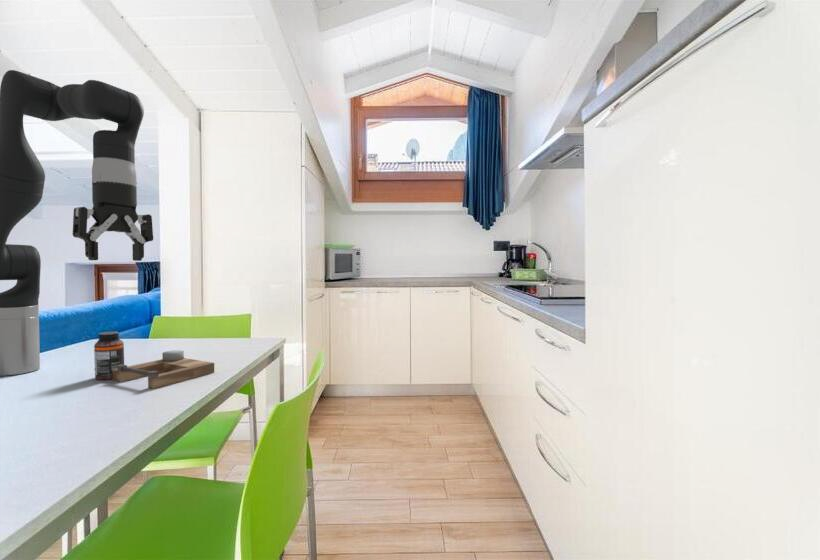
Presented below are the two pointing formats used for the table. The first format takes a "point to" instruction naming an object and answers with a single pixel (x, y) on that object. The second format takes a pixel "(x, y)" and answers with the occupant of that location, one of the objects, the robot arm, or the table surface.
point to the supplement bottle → (108, 355)
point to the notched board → (172, 370)
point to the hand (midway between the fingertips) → (116, 260)
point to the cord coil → (173, 355)
